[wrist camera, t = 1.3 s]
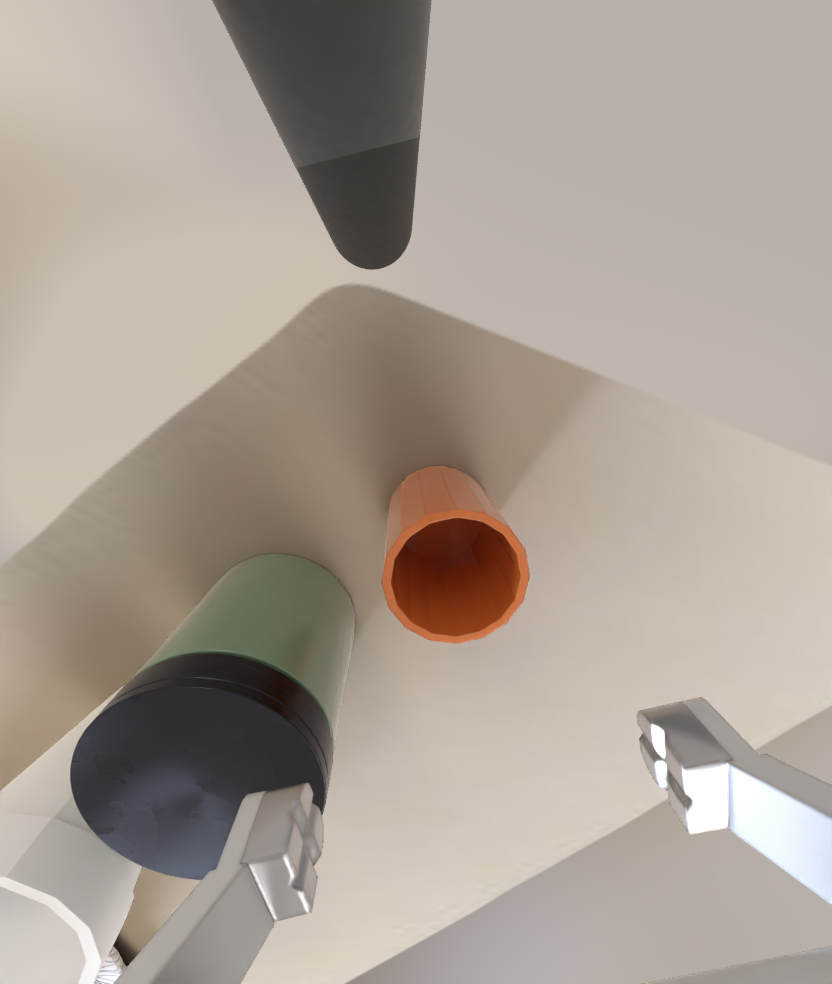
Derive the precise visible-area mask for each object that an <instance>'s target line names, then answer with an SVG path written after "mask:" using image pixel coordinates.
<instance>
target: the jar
mask: <svg viewBox="0 0 832 984" xmlns="http://www.w3.org/2000/svg"><path fill="white" fill-rule="evenodd" d="M355 624H356V621H355V612H354V608H353V604H352V602H351V599H350V597H349V595H348V593H347V591H346V589H345V588H344V587H343V585H342V584H341V583H340V582H339V581H338V579H337V578H336V577H335V576H334V575H332V574H331V573H330V572H329V571H327V570H326V569H325V568H323V567H321V566H320V565H318V564H316V563H314V562H312V561H310V560H307V559H304V558H301V557H298V556H293V555H287V554H267V555H261V556H256V557H253V558H249V559H247V560H245V561H242V562H240V563H238V564H237V565H235V566H234V567H232V568H231V569H230V570H228V571H227V572H226V573H225V574H224V575H223V576H222V577H221V578H220V579H219V580H218V581H217V583H216V584H215V585H214V586H213V587H212V588H211V589H210V590H209V592H208V593H207V594H206V595H205V596H204V597H203V598H202V600H201V601H200V602H199V603H198V604H197V605H196V606H195V607H194V609H193V610H192V611H191V612H190V613H189V614H188V615H187V616H186V618H185V619H184V620H183V621H182V622H181V623H180V624H179V625H178V627H177V628H176V629H175V630H174V631H173V632H172V633H171V634H170V636H169V637H168V638H167V639H166V640H165V641H164V642H163V644H162V645H161V646H160V647H159V648H158V649H157V650H156V651H155V653H154V654H153V655H152V656H151V657H150V658H149V659H148V660H147V662H146V663H145V664H144V665H143V666H142V667H141V668H140V669H139V671H138V672H137V673H136V674H135V675H134V676H133V677H132V678H134V677H135V676H136V675H137V674H139V673H141V672H142V671H144V670H146V669H147V668H149V667H151V666H154V665H156V664H158V663H161V662H163V661H166V660H169V659H173V658H176V657H180V656H187V655H193V654H209V653H210V654H211V653H212V654H226V655H232V656H238V657H243V658H247V659H250V660H254V661H257V662H260V663H262V664H264V665H267V666H269V667H272V668H274V669H275V670H277V671H279V672H281V673H283V674H285V675H286V676H288V677H289V678H290V679H292V680H293V681H295V682H296V683H297V684H299V685H300V686H301V687H302V688H303V689H304V690H305V691H306V692H307V693H308V694H309V695H310V696H311V697H312V699H313V700H314V701H315V702H316V703H317V705H318V706H319V708H320V710H321V711H322V713H323V714H324V716H325V719H326V721H327V723H328V725H329V729H330V732H331V736H332V742H333V753H334V748H335V742H336V736H337V730H338V725H339V719H340V713H341V708H342V702H343V696H344V691H345V685H346V679H347V673H348V668H349V662H350V656H351V651H352V645H353V639H354V633H355ZM132 678H131V679H132Z"/></svg>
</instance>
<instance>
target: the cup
mask: <svg viewBox="0 0 832 984" xmlns="http://www.w3.org/2000/svg"><path fill="white" fill-rule="evenodd" d="M529 575H530V574H529V568H528V563H527V557H526V551H525V549H524V547H523V546H522V544H521V543H520V541H519V540H518V539H517V537H516V536H515V534H514V533H513V531H512V530H511V528H510V527H509V526H508V524H507V523H506V522H505V520H504V519H503V517H502V516H501V515H500V513H499V512H498V511H497V509H496V508H495V506H494V505H493V504H492V502H491V501H490V500H489V498H488V497H487V495H486V494H485V493H484V491H483V490H482V489H481V487H480V486H479V484H478V483H477V482H476V481H475V480H474V479H473V478H472V477H470V476H469V475H468V474H466V473H464V472H463V471H461V470H458V469H456V468H452V467H448V466H431V467H426V468H423V469H420V470H418V471H415V472H414V473H412V474H410V475H409V476H408V477H406V478H405V479H404V480H403V481H402V482H401V483H400V484H399V485H398V487H397V488H396V490H395V491H394V493H393V495H392V498H391V500H390V504H389V511H388V517H387V527H386V539H385V550H384V561H383V573H382V586H383V589H384V593H385V596H386V600H387V603H388V607H389V609H390V610H391V611H392V612H393V613H394V615H395V616H396V617H397V618H398V619H399V621H400V622H401V623H402V624H403V625H404V627H406V628H407V629H409V630H411V631H413V632H414V633H416V634H418V635H420V636H422V637H424V638H426V639H428V640H431V641H439V642H447V643H461V642H466V641H471V640H475V639H480V638H483V637H485V636H487V635H488V634H490V633H492V632H493V631H495V630H496V629H498V628H500V627H501V626H503V625H504V624H506V623H507V622H508V621H509V619H510V618H511V617H512V615H513V614H514V613H515V611H516V610H517V609H518V608H519V606H520V605H521V604H522V602H523V600H524V596H525V592H526V588H527V584H528V581H529Z"/></svg>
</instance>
